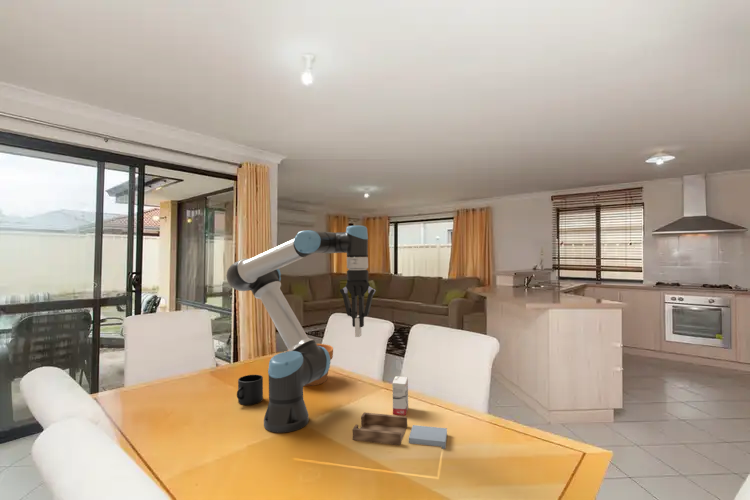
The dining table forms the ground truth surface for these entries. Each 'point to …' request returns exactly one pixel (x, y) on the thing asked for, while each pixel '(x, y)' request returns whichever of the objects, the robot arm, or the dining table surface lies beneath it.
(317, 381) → the flower pot
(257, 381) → the mug
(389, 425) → the box
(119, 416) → the dining table surface
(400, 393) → the ink box
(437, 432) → the tile
